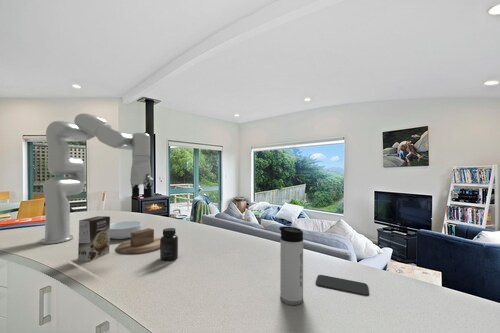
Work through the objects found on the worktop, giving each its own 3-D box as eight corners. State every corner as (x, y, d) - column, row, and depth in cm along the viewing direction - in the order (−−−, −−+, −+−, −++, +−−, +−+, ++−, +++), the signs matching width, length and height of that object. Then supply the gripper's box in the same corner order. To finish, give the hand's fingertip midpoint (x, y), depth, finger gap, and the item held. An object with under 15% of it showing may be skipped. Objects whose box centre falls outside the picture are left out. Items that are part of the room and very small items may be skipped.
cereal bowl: (97, 240, 115) (97, 226, 115) (125, 232, 131) (126, 219, 131) (121, 244, 109) (121, 229, 109) (148, 235, 124) (148, 222, 124)
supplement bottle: (181, 257, 93) (181, 228, 93) (169, 264, 87) (169, 232, 87) (168, 255, 96) (169, 226, 96) (156, 260, 90) (156, 230, 90)
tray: (105, 249, 102) (105, 248, 102) (150, 237, 120) (150, 236, 120) (131, 260, 90) (131, 258, 90) (177, 245, 108) (177, 244, 108)
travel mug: (277, 293, 66) (277, 224, 67) (299, 292, 67) (299, 224, 67) (281, 306, 60) (282, 230, 60) (306, 305, 61) (306, 229, 61)
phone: (369, 295, 65) (315, 284, 71) (369, 298, 65) (314, 286, 71) (367, 283, 72) (318, 274, 78) (367, 286, 72) (318, 276, 78)
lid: (108, 248, 102) (108, 232, 102) (149, 237, 119) (149, 223, 119) (133, 257, 91) (133, 240, 91) (174, 244, 108) (174, 229, 108)
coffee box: (91, 263, 87) (91, 220, 88) (77, 261, 89) (78, 220, 89) (110, 254, 96) (110, 216, 97) (97, 253, 98) (97, 215, 98)
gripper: (123, 160, 107) (123, 196, 107) (144, 158, 98) (144, 198, 97) (138, 160, 114) (138, 195, 113) (159, 159, 104) (159, 197, 104)
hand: (141, 196), depth 105 cm, fingers open, 9 cm apart
